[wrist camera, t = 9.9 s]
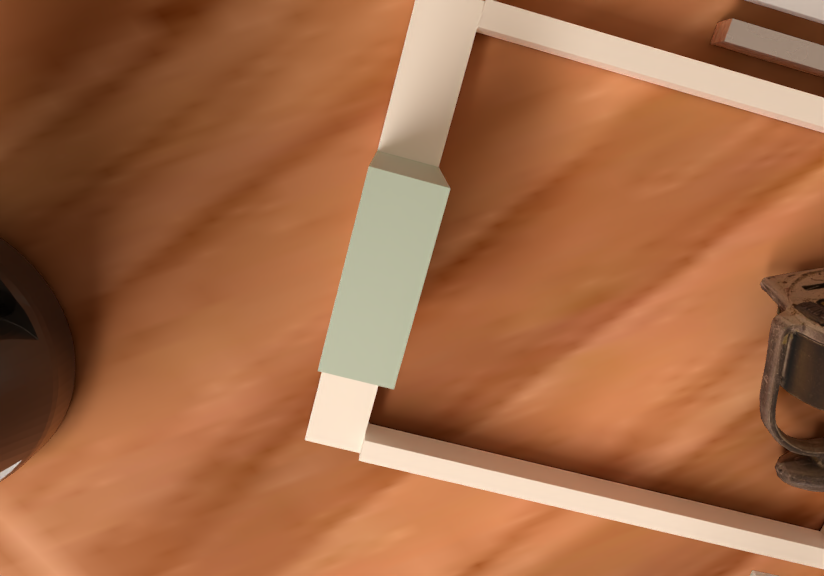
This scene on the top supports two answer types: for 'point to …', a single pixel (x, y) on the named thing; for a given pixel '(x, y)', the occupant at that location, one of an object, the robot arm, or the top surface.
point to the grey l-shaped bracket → (797, 8)
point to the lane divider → (770, 46)
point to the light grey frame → (414, 242)
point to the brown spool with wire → (796, 369)
